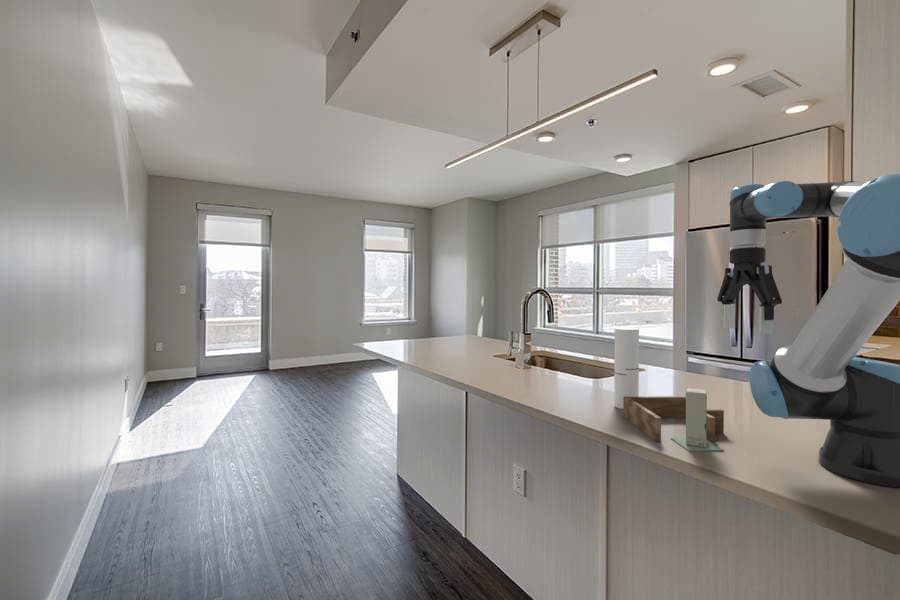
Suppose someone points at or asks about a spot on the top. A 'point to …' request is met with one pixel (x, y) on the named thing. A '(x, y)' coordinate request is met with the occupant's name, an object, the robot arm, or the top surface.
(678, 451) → the top surface
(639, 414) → the wooden u-shaped enclosure
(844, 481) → the top surface
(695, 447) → the pad
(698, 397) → the box
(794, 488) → the top surface
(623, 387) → the cylindrical container
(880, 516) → the top surface
